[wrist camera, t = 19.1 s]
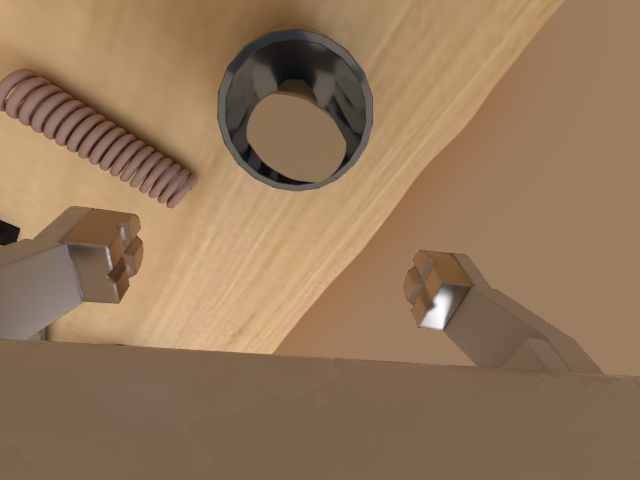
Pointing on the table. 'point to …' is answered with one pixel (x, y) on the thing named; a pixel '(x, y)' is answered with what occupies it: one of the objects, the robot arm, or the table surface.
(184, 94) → the table surface
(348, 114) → the open cylindrical bucket
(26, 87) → the coil
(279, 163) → the handle
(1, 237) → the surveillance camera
